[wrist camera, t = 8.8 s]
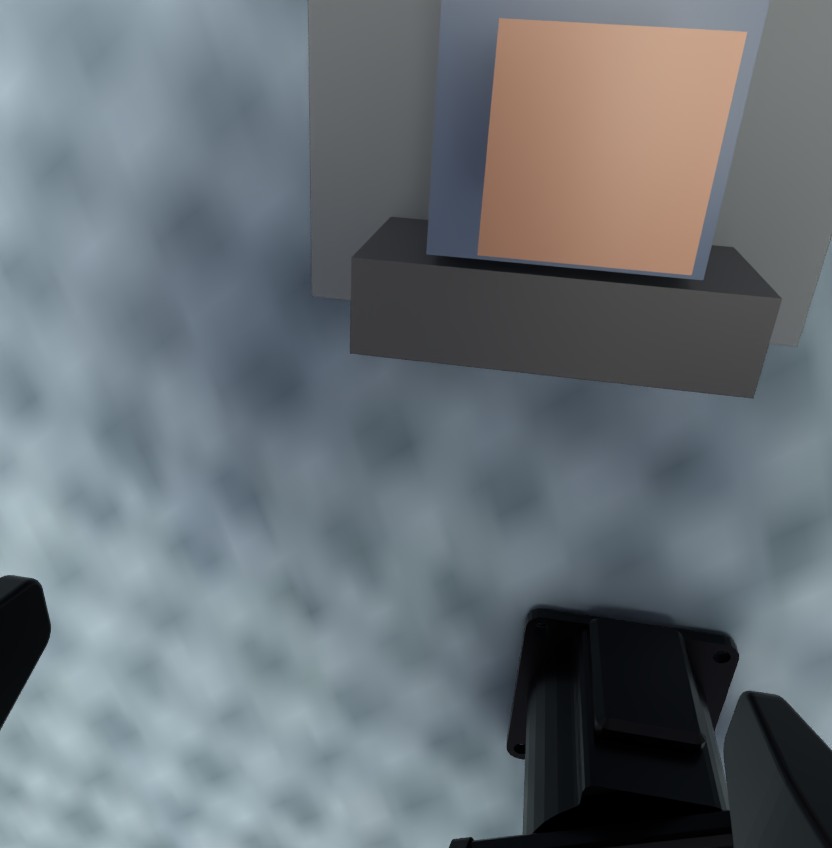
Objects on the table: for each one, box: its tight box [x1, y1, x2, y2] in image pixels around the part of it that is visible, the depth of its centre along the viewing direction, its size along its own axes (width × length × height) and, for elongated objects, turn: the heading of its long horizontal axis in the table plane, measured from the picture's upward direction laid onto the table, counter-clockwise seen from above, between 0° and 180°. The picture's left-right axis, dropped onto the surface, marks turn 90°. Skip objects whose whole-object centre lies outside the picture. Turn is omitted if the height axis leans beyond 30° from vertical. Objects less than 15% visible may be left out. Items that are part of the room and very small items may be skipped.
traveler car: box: [426, 0, 770, 280], centre depth 12 cm, size 5×5×8 cm
